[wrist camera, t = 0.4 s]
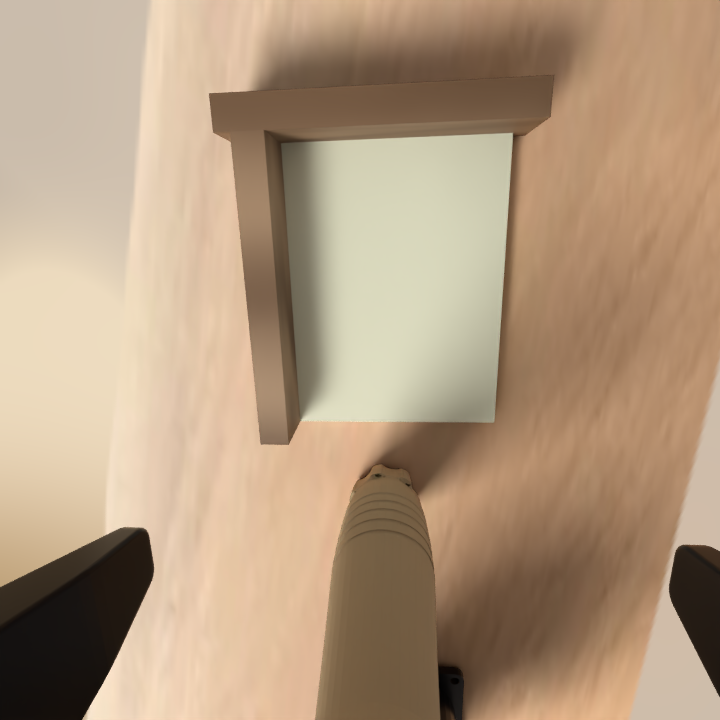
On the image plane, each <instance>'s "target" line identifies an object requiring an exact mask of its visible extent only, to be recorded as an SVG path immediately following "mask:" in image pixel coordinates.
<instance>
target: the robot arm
mask: <svg viewBox="0 0 720 720" xmlns="http://www.w3.org/2000/svg"><path fill="white" fill-rule="evenodd" d="M153 574H154V563H153V557H152V551H151V545H150V539H149V534H148V532H147V530H146V529H144V528H134V527H123V528H120V529H118V530H116V531H114V532H112V533H109V534H107V535H105V536H103V537H101V538H99V539H97V540H95V541H93V542H91V543H89V544H87V545H85V546H83V547H81V548H79V549H77V550H75V551H73V552H71V553H69V554H67V555H65V556H63V557H61V558H59V559H57V560H55V561H53V562H51V563H48V564H46V565H44V566H43V567H41V568H38V569H36V570H34V571H32V572H30V573H28V574H26V575H24V576H22V577H20V578H18V579H16V580H14V581H12V582H10V583H8V584H6V585H4V586H2V587H0V720H82V719H83V717H84V715H85V714H86V712H87V710H88V708H89V707H90V705H91V703H92V702H93V700H94V698H95V696H96V695H97V693H98V691H99V689H100V688H101V686H102V684H103V682H104V680H105V678H106V677H107V675H108V673H109V671H110V669H111V667H112V665H113V663H114V661H115V659H116V657H117V655H118V653H119V651H120V649H121V646H122V644H123V642H124V640H125V638H126V636H127V634H128V631H129V629H130V627H131V625H132V623H133V621H134V618H135V616H136V614H137V612H138V610H139V608H140V606H141V603H142V601H143V599H144V597H145V595H146V593H147V590H148V588H149V586H150V584H151V581H152V578H153ZM669 593H670V598H671V601H672V604H673V606H674V608H675V610H676V612H677V614H678V616H679V618H680V620H681V622H682V624H683V626H684V628H685V630H686V632H687V634H688V636H689V638H690V640H691V642H692V644H693V645H694V648H695V650H696V651H697V653H698V656H699V658H700V660H701V661H702V663H703V665H704V667H705V669H706V671H707V673H708V675H709V677H710V679H711V681H712V683H713V685H714V687H715V689H716V691H717V693H718V695H719V697H720V551H718V550H716V549H714V548H712V547H709V546H705V545H681V546H679V547H678V548H677V550H676V552H675V557H674V562H673V567H672V573H671V578H670V584H669ZM438 680H439V703H440V720H462V707H463V688H464V679H463V673H462V671H461V670H460V669H458V668H453V667H438Z"/></svg>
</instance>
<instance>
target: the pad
mask: <svg viewBox="0 0 720 720" xmlns="http://www.w3.org/2000/svg"><path fill="white" fill-rule="evenodd" d="M512 143H513V133H500V134H477V135H454V136H431V137H408V138H386V139H363V140H340V141H317V142H294V143H281V150H282V165H283V179H284V194H285V208H286V222H287V237H288V251H289V266H290V280H291V294H292V309H293V323H294V338H295V352H296V366H297V381H298V395H299V410H300V421H352V422H476V423H494V420H495V405H496V389H497V374H498V359H499V343H500V328H501V312H502V297H503V281H504V266H505V251H506V235H507V220H508V204H509V189H510V173H511V158H512Z"/></svg>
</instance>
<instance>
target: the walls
mask: <svg viewBox="0 0 720 720" xmlns="http://www.w3.org/2000/svg"><path fill="white" fill-rule="evenodd" d="M553 82H554V75H545V76H526V77H507V78H489V79H470V80H452V81H433V82H414V83H396V84H377V85H358V86H340V87H321V88H303V89H284V90H265V91H247V92H228V93H210V94H209V98H210V107H211V117H212V126H213V133H215V134H217V135H219V136H221V137H223V138H225V139H227V140H228V141H230V142H231V147H232V157H233V168H234V178H235V188H236V198H237V208H238V218H239V229H240V239H241V249H242V259H243V269H244V279H245V290H246V300H247V310H248V320H249V330H250V340H251V350H252V361H253V371H254V381H255V391H256V401H257V411H258V422H259V432H260V442H261V444H274V445H289V443H290V441H291V439H292V437H293V435H294V433H295V431H296V429H297V427H298V425H299V423H300V410H299V395H298V381H297V366H296V352H295V338H294V323H293V309H292V294H291V280H290V266H289V251H288V237H287V222H286V208H285V194H284V179H283V165H282V150H281V143H294V142H317V141H340V140H363V139H386V138H408V137H431V136H454V135H477V134H500V133H513V136H523V135H526V134H528V133H529V132H530V131H532V130H533V129H534V128H536V127H537V126H539V125H540V124H541V123H543V122H544V121H545V120H547V119H548V118H550V117H551V106H552V94H553Z"/></svg>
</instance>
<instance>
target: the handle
mask: <svg viewBox="0 0 720 720" xmlns="http://www.w3.org/2000/svg"><path fill="white" fill-rule="evenodd" d="M411 485H412V482H411V478H410V475H409V473H408V472H407V471H406V470H404V469H401V468H400V469H390V468H387V467H385V466H383V465H382V464H380V465H375V466H373V467H372V470H371V472H370V473H369V474H368V475H367V476H366V477H365V478H364V479H362V480H358V481H357V482H356V484H355V485H354V487H353V490H352V493H351V496H350V503H349V505H348V508H347V511H346V514H345V517H344V520H343V524H342V527H341V531H340V535H339V538H338V543H337V547H336V553H335V557H334V562H333V567H332V574H331V584H330V593H329V602H328V612H327V621H326V630H325V640H324V649H323V657H322V666H321V674H320V683H319V691H318V700H317V708H316V717H315V720H440V703H439V680H438V658H437V628H436V599H435V575H434V566H433V560H432V551H431V544H430V539H429V534H428V529H427V524H426V519H425V516H424V512H423V509H422V507H421V504H420V500H419V497H418V494H417V493H416V492H415V491H414V490H413V489H412V486H411Z"/></svg>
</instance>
